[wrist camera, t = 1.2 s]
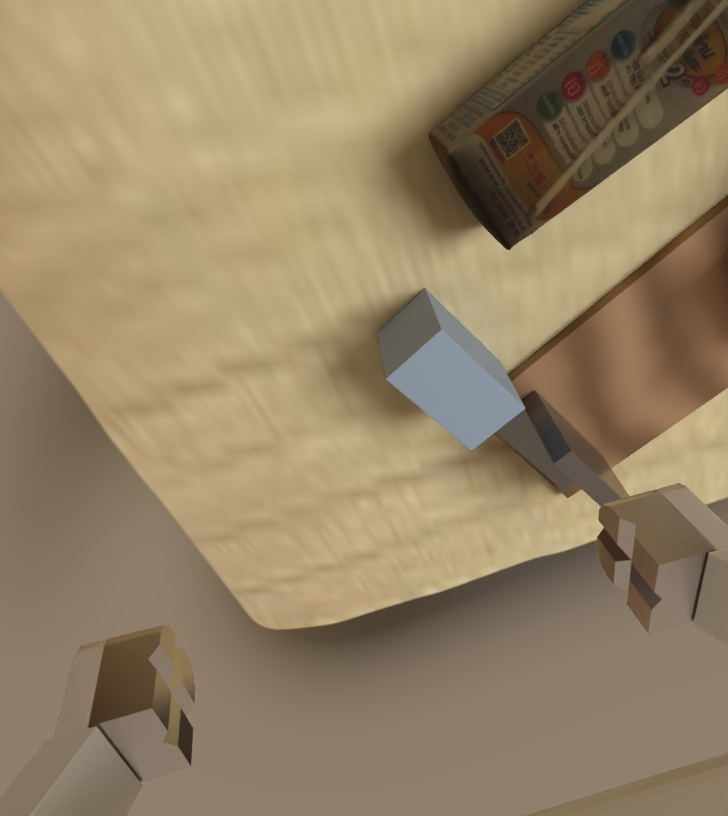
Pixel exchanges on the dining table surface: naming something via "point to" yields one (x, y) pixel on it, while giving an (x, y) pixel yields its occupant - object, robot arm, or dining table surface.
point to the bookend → (561, 451)
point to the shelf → (642, 348)
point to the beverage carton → (581, 107)
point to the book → (447, 371)
